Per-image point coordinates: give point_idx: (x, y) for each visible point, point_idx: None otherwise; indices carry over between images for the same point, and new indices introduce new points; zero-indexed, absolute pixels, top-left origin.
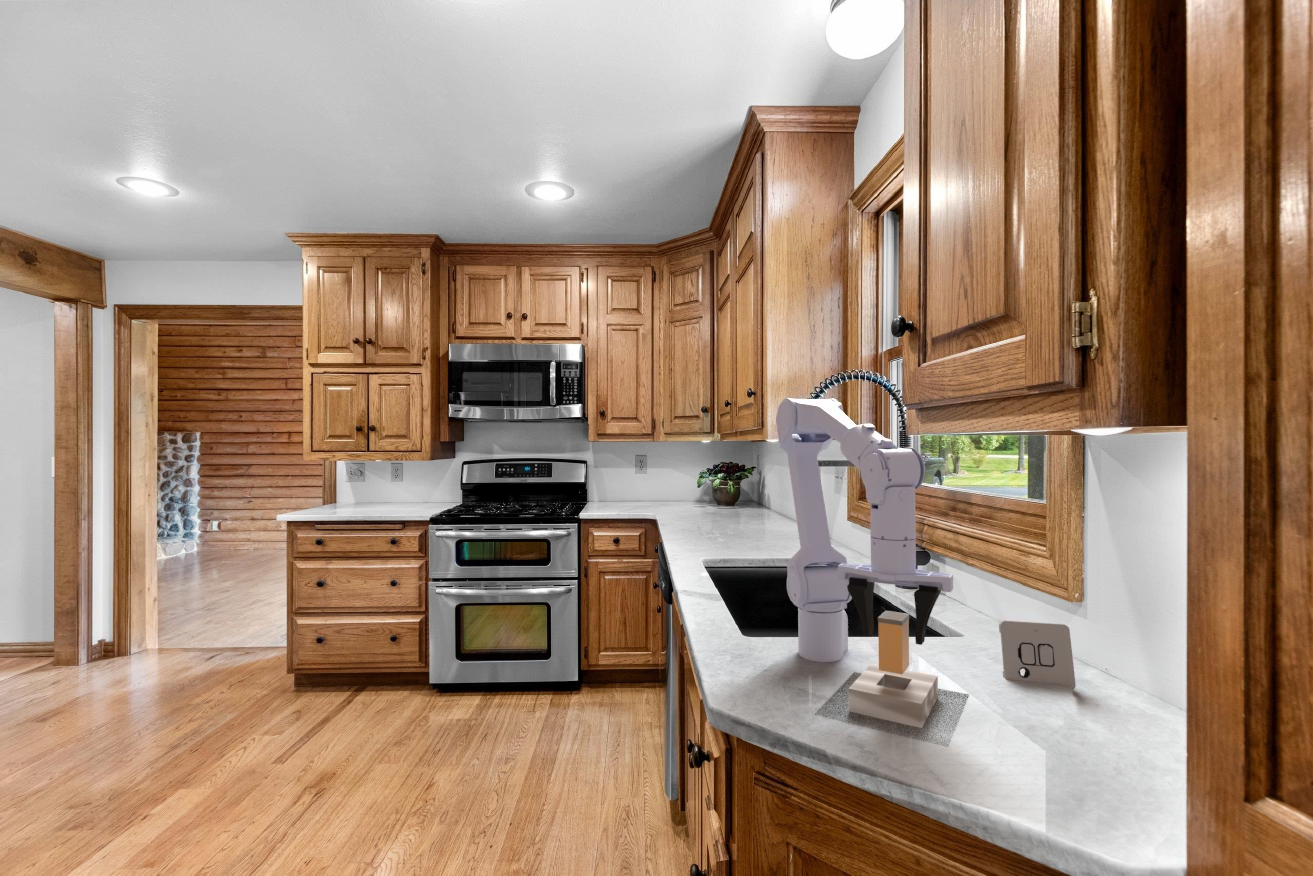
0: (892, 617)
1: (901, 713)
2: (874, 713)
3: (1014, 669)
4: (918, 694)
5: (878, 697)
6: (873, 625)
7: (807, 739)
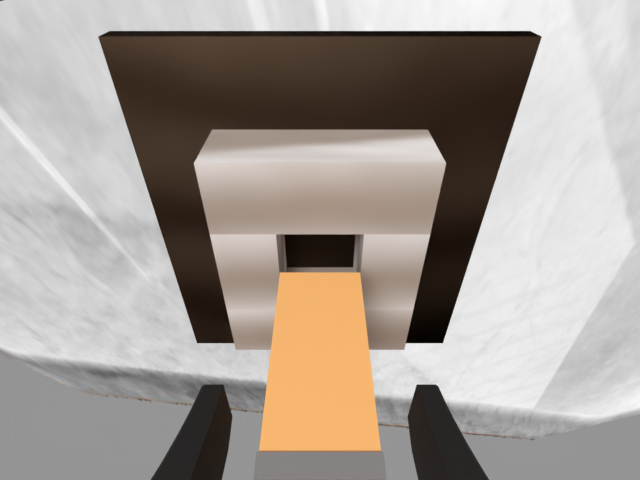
0: None
1: None
2: None
3: None
4: (393, 314)
5: None
6: (216, 410)
7: (225, 370)
